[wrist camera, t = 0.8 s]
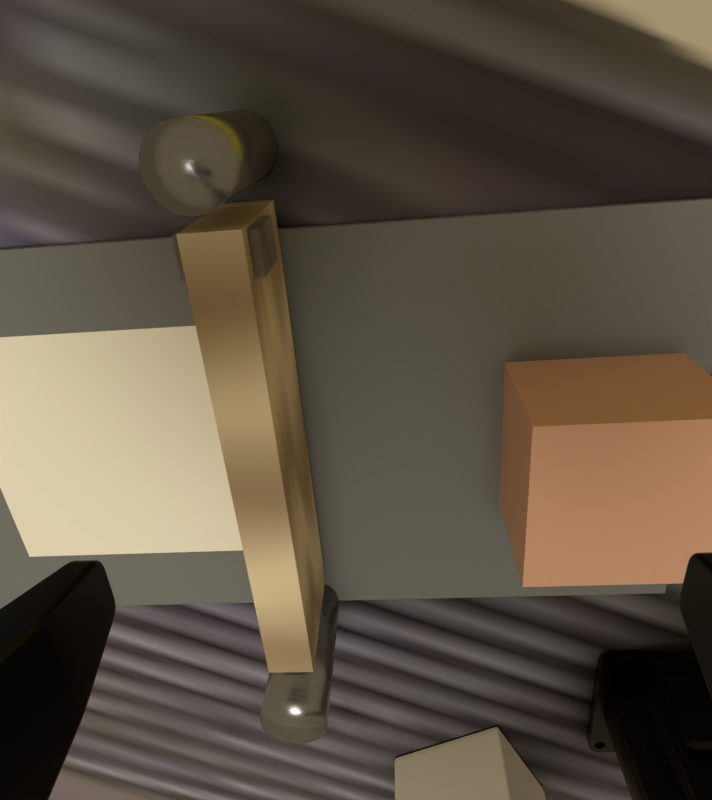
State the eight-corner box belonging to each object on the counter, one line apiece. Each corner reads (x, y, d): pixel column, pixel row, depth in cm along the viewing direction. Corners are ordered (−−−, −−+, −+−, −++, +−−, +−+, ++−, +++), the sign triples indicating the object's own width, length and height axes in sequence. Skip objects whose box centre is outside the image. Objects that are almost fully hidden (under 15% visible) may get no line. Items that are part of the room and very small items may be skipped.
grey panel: (662, 588, 25) (665, 593, 25) (-8, 603, 28) (-12, 608, 27) (742, 194, 18) (748, 196, 18) (-173, 260, 20) (-181, 263, 20)
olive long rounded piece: (341, 614, 27) (330, 743, 22) (289, 616, 27) (265, 743, 22) (279, 106, 18) (232, 112, 12) (199, 113, 18) (119, 122, 12)
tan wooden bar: (332, 579, 25) (322, 672, 21) (280, 581, 25) (260, 672, 21) (283, 198, 18) (253, 228, 14) (212, 204, 18) (163, 235, 14)
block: (657, 497, 23) (715, 582, 19) (499, 502, 23) (522, 587, 19) (684, 352, 20) (758, 416, 16) (505, 362, 21) (532, 426, 17)
